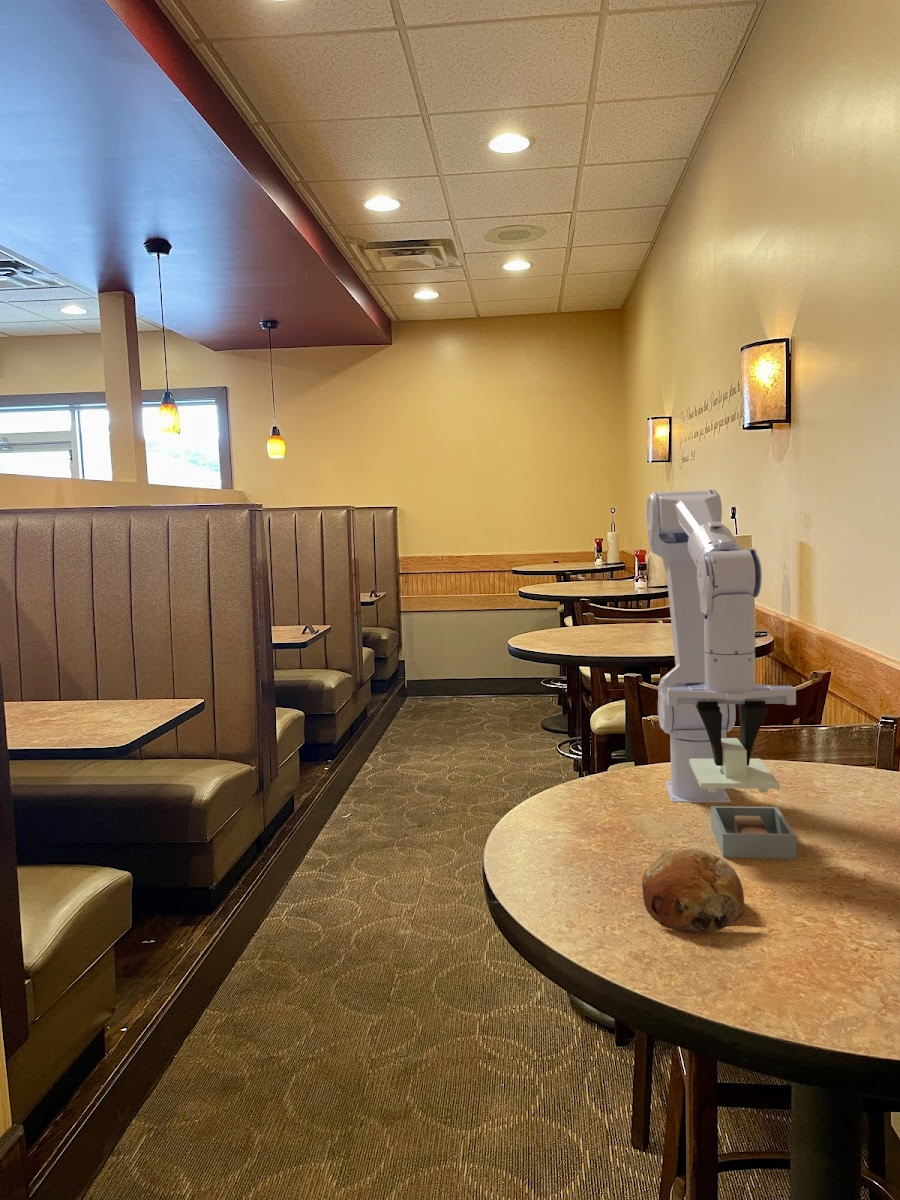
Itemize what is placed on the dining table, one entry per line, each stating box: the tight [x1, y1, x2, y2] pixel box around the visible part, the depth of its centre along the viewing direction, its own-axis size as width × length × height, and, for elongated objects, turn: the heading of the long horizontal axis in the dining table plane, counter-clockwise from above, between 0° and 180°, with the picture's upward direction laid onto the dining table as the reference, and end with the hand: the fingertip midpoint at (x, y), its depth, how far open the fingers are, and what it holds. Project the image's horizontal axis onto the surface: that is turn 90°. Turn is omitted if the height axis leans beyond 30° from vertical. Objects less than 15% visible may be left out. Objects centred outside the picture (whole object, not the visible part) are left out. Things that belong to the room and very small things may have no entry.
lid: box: [689, 737, 780, 794], centre depth 102 cm, size 11×9×5 cm
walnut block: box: [734, 816, 764, 833], centre depth 103 cm, size 3×3×2 cm
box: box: [710, 805, 798, 860], centre depth 102 cm, size 10×8×3 cm
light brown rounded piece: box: [741, 827, 768, 833], centre depth 100 cm, size 3×3×2 cm
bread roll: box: [642, 848, 745, 933], centre depth 85 cm, size 10×10×8 cm
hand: (731, 763), depth 102 cm, fingers closed on lid, 2 cm apart
